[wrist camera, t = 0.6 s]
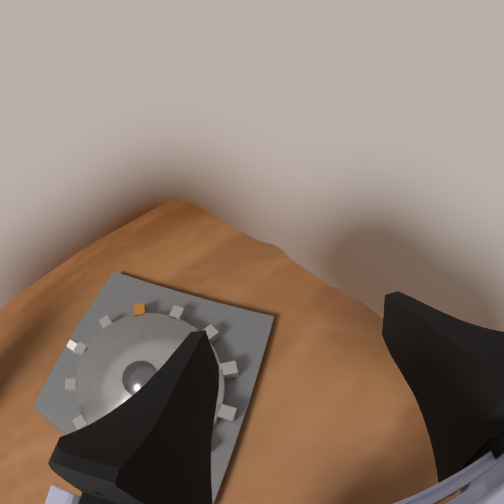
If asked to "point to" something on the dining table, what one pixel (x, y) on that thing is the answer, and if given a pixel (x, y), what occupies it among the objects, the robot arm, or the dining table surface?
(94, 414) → the sprocket
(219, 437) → the timing board
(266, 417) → the dining table surface
